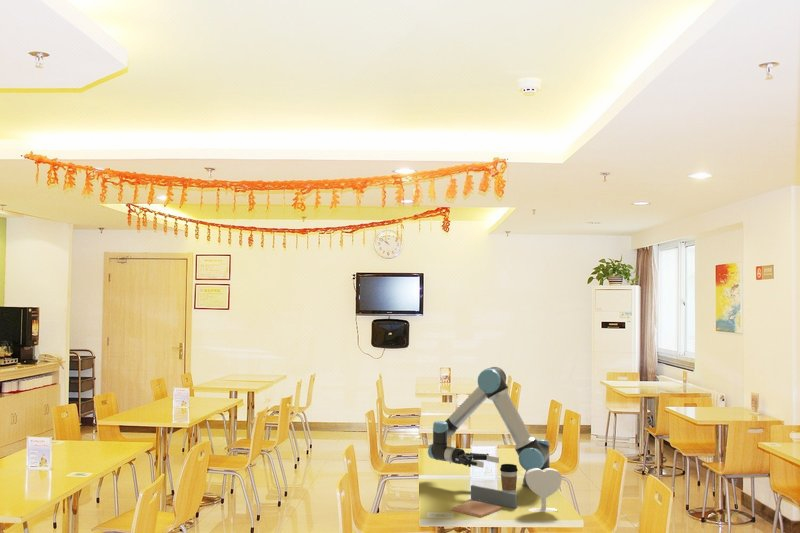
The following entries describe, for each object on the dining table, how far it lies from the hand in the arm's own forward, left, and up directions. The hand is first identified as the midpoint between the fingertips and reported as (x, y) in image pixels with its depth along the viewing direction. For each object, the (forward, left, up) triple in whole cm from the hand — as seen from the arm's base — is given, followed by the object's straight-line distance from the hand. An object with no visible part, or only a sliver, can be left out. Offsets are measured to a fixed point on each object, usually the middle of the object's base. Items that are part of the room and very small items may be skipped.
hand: (490, 462), depth 331 cm
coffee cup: (-6, +8, -15) cm, 18 cm away
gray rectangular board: (+5, +16, -15) cm, 23 cm away
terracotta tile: (+17, +24, -15) cm, 33 cm away
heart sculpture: (-12, +32, -15) cm, 37 cm away
